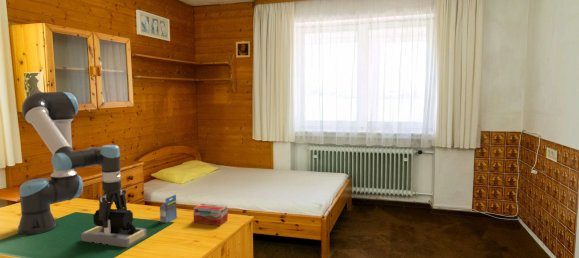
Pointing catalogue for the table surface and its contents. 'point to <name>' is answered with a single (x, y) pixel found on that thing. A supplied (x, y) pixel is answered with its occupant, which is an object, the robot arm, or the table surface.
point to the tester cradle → (113, 236)
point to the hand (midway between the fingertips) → (114, 230)
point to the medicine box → (210, 214)
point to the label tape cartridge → (168, 210)
